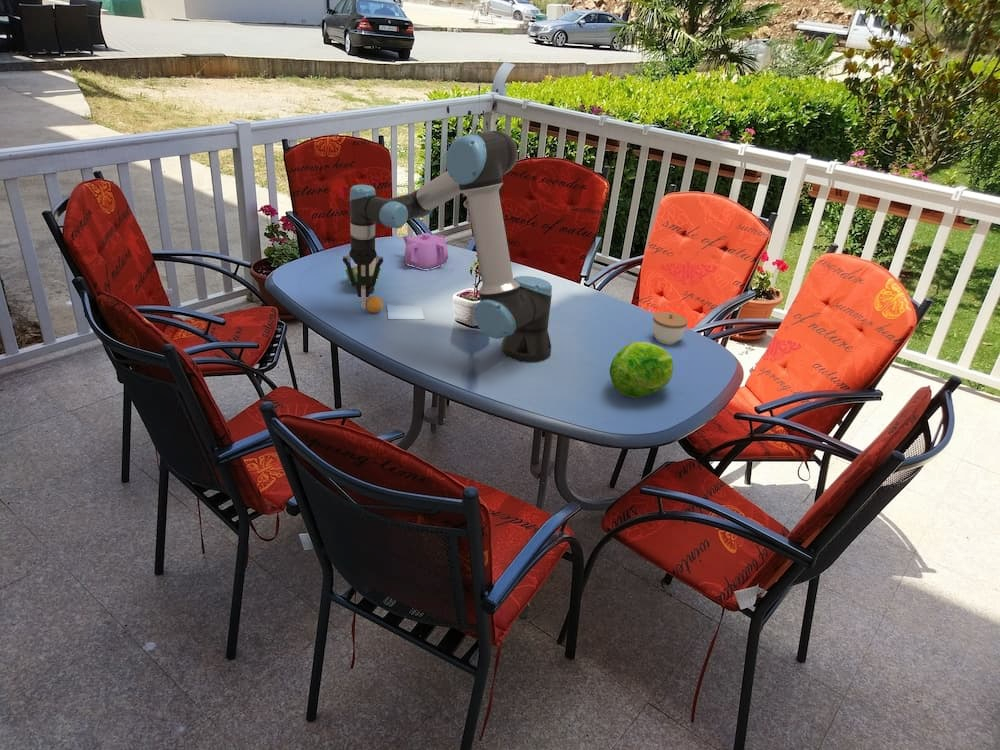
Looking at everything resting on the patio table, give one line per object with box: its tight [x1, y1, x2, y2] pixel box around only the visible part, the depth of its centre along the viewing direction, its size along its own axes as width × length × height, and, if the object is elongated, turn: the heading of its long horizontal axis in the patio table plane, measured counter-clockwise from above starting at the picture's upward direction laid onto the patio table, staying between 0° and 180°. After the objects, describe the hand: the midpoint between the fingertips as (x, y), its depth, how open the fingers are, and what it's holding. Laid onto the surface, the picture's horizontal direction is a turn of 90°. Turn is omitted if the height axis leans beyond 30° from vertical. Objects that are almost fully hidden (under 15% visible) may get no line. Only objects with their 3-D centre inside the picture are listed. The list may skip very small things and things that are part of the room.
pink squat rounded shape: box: [402, 232, 449, 269], centre depth 275 cm, size 17×17×12 cm
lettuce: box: [609, 341, 674, 399], centre depth 194 cm, size 15×23×16 cm
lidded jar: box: [652, 311, 688, 346], centre depth 227 cm, size 11×11×9 cm
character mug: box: [352, 258, 376, 294], centre depth 245 cm, size 11×7×13 cm, turn 147°
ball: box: [365, 295, 384, 314], centre depth 231 cm, size 6×6×6 cm
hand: (363, 305), depth 231 cm, fingers closed
